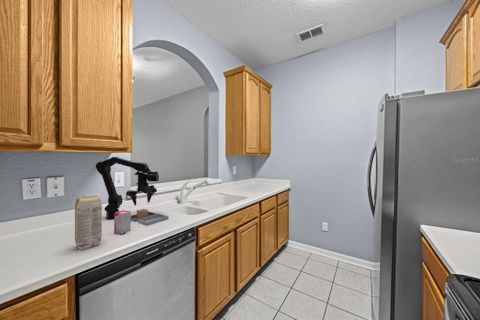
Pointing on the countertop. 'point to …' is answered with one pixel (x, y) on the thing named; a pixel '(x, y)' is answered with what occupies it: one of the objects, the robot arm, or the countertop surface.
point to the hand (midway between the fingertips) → (142, 204)
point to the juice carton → (88, 221)
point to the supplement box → (122, 222)
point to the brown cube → (142, 213)
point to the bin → (134, 217)
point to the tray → (152, 219)
